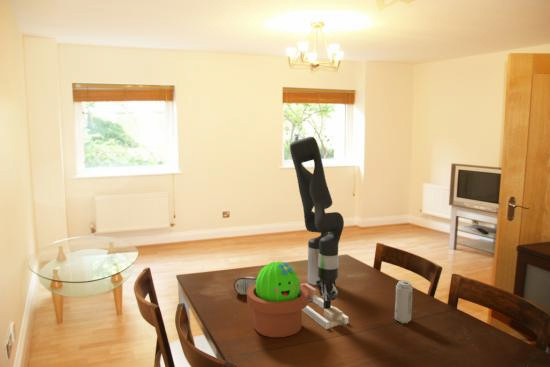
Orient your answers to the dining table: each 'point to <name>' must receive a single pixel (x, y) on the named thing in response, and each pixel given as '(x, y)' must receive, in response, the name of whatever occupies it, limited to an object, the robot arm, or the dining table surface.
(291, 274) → the potted cactus
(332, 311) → the block
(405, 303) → the energy drink can
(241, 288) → the tin
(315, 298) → the rail channel
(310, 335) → the dining table surface
